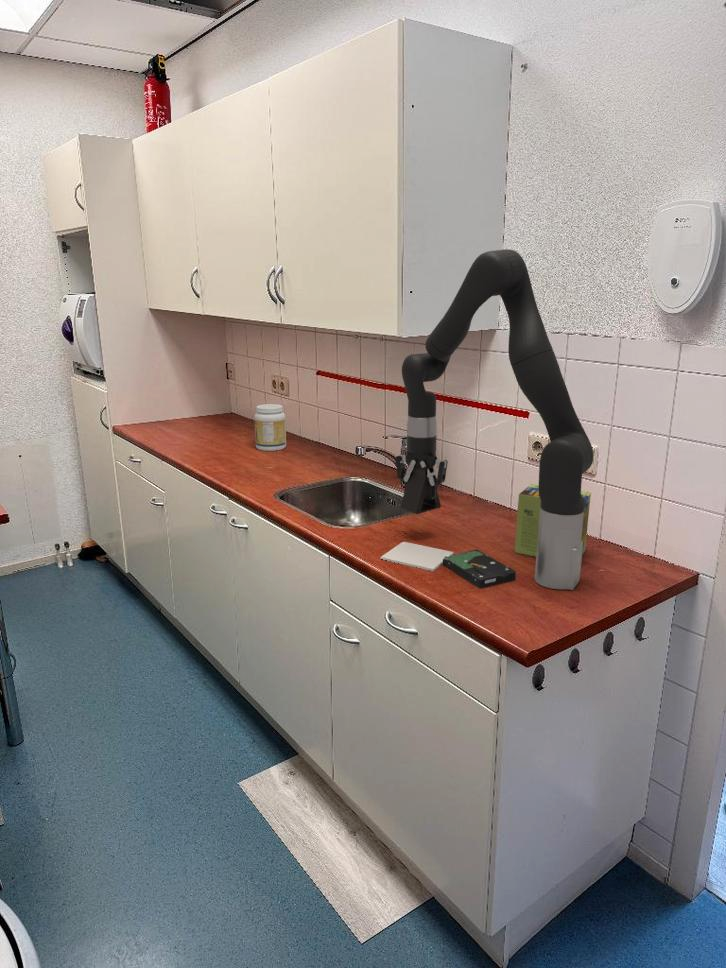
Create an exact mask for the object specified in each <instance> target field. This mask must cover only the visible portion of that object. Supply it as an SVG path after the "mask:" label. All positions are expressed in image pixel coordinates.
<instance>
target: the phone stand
mask: <svg viewBox="0 0 726 968" xmlns="http://www.w3.org/2000/svg"><path fill="white" fill-rule="evenodd" d="M427 468H428V466H427V467H424V468H422V467H421V466H418V467H416V468H415V472H414V471H412V474H411V476H410V478H409V480H408V481H407V482H408V483H407V484H406V488H405V487H404V491H403V496H402V500H401V503H400V507H399V508H400V509H401V510H404V511H406V512H410V513H412V514H415V515H420V514H422V513H426V512H429V511H433V510H436V509H437V510H438V509H440V508H441V507H442V505H441V500H440V497H439V493H438V492H437V496H436V497H435V498H434V499H430V485H431V484H430V482H429V480H428V479H429V478H428V477H427V475H426V470H427ZM434 469H435V468H434ZM434 469H433V467H432V469H431V470H430V473H433V471H434ZM433 478H434V477H433Z"/></svg>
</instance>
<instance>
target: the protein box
mask: <svg viewBox="0 0 726 968" xmlns="http://www.w3.org/2000/svg"><path fill="white" fill-rule="evenodd" d="M538 489H539V484H534V483H533V484H532V483H531V484H529V485H528V486H527V487H525V489H524V490H522V491H521V492H520V493H519V494H518V501H517V515H516V516H517V517H516V526H515V527H516V528H515V539H514V549H513V550H514V552H513V553H516V554H519V555H520V554H521V555H524V556H530V557H535V558H536V554H537V542H538V530H539V518H540V505H541V500H540V497H539V490H538ZM581 495H582V496H583V497H584V499H585V508H584V516H583V526H582V537H581V541H583V550H582V556H583V554H584V553H585V552H586V544H587V536H588V526H589V524H588V523H589V515H590V503H591V496H592V492H591V491H586V490H585V491H584V490H581Z"/></svg>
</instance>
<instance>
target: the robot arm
mask: <svg viewBox="0 0 726 968" xmlns="http://www.w3.org/2000/svg"><path fill="white" fill-rule="evenodd" d="M495 296H496V297H497V296H500V298H501V300H502V302H503V305H504V308H505V310H506V313H507V316H508V317H507V318H508V322H509V333H508V334H509V335H508V336H509V337H508V360H509V362H510V366H511V369H512V371H513V374H514V377H515V380H516V382H517V384H518V387H519V389H520V390H521V391H522V393H523V395H524V396H525V398H526V399H527V400H528V401H529V403H530V404H531V405H532V406H533V408H534V409H535V410H536V411H537V412H538V415H539V416H540V418H541V420H542V421H543V423H544V426H545V428H546V432H547V436H548V439H549V441H550V442H548V443H547V444H545V446H544V448H543V449H542V451H541V452H540V453H541V454H540V459H539V470H538V485H539V489H538V490H539V497H540V500H541V505H540V518H539V530H538V542H537V554H536V557H535V568H534V581H535V582H536V583H537V584H538V585H540V586H542V587H545V588H547V589H552V590H553V589H554V590H571V591H573V590H574V589H575V587H576V586H577V585H578V583H579V582H580V579H581V578H580V577H581V569H582V568H581V567H582V558H583V555H582V550H583V541H581V537H582V526H583V516H584V508H585V499H584V497H583V496H582V495H581V491H582V481H583V474H584V473H586V472H588V470H589V469H590V468H592V467H591V466H592V464H593V463H594V456H595V453H594V449H593V446H592V443H591V441H590V439H589V437H588V434H587V433H586V431H585V429H584V427H583V425H582V423H581V421H580V419H579V417H578V415H577V413H576V411H575V408H574V406H573V403H572V400H571V397H570V396H571V395H570V394H569V391H568V388H567V385H566V382H565V380H564V377H563V375H562V371H561V368H560V364H559V362H558V359H557V357H556V354H555V351H554V350H553V349H554V348H553V346H552V344H551V341H550V339H549V337H548V333H547V330H546V328H545V325H544V322H543V320H542V319H543V318H542V316H541V314H540V311H539V308H538V306H537V305H538V304H537V301H536V297H535V294H534V290H533V285H532V282H531V277H530V275H529V270H528V268H527V264H526V262H525V260H524V258H523V257H522V256H521V254H520V253H518V252H517V251H516V250H513V249H509V248H507V249H506V248H504V249H498V250H489V251H485V252H482V253H481V254H479V255H478V256H477V257H476V258H475V259H474V261H473V263H472V264H471V266H470V268H469V270H468V271H467V273H466V276H465V278H464V279H463V281H462V283H461V285H460V286H459V289H458V291H457V293H456V295H455V297H454V298H453V300H452V302H451V304H450V306H449V307H448V309H447V311H446V312H445V313H444V315H443V317H441V319H440V321H439V322H438V323H437V325H436V326H435V327H434V328H433V330H432V332H431V333H430V334H429V335H428V337H426V338H427V339H426V340H425V344H424V346H425V349H426V352H422V353H412V354H409V355H407V356H406V357H405V358H404V360H403V362H402V365H401V376H402V380H403V385H404V388H405V393H406V396H407V397H406V398H407V401H408V402H407V421H406V455H404V454H398V455H397V456H395V465H396V473H397V478H398V479H399V480H400V479H401V480H403V481H404V489H405V488H406V484H407V483H408V482H407V481H408V480H409V478H410V476H411V474H412V471H414V472H415V468H416V467H418V466H421V467H422V468H424V467H427V466H428V468H427V470H426V475H427V477H428V478H429V479H428V480H429V482H430V484H431V485H430V499H434V498H435V497H436V496H437V493H438V491H439V489H438V486H439V485H441V484H443V483H444V482H445V481H446V478H447V477H446V476H447V469H448V462H449V461H448V460H447V459H444V460H442V459H438V457H437V437H438V436H437V433H438V432H437V428H438V426H437V423H438V422H437V396H436V394H435V393H434V392H432V391H427V390H426V388H425V384H424V383H427V382H435V381H437V380H438V379H440V378H441V377H442V375H443V374H444V373H445V371H446V369H447V366H448V364H449V362H450V359H451V356H452V355H453V354H454V352H455V351H456V350H457V349H458V347H459V346H461V344H462V343H463V342H464V340H465V338H466V337H467V336H468V333H469V331H470V328H471V324H472V321H473V318H474V315H475V314H476V312H477V311H478V310H479V308H481V307H482V306H483V305H484V304H485V303H486V302H487V301H488V300H489V299H490V298H491V297H495ZM406 462H407V464H408V465H409V466H408V468H407V470H406V464H405V463H406ZM435 465H436V467H437V469H438V471H437V472H436V469H435ZM432 467H433V469H434V471H433V473H430V470H431V469H432ZM433 477H434V478H433Z"/></svg>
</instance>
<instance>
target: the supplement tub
mask: <svg viewBox="0 0 726 968" xmlns="http://www.w3.org/2000/svg"><path fill="white" fill-rule="evenodd" d="M255 408H256V413H255V414H254V434H255V435H254V436H255V447H256V449H258V450H260V451H264V452H272V451H273V452H275V451H276V450H277V451H281V450H283V449H285V448H286V447H287V429H286V428H287V427H286V414H285V413H284V412H283V411H284V405H282V404H276V403H272V404H271V403H267V404H260V405H259V404H258V405H257V406H255ZM277 451H276V452H277Z"/></svg>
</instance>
